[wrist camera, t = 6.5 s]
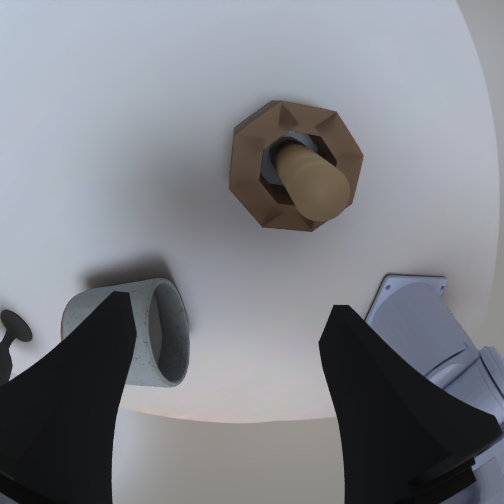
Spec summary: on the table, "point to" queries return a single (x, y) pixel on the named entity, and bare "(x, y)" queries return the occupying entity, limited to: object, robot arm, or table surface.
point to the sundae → (17, 329)
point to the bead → (268, 131)
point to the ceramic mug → (144, 329)
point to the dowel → (309, 180)
